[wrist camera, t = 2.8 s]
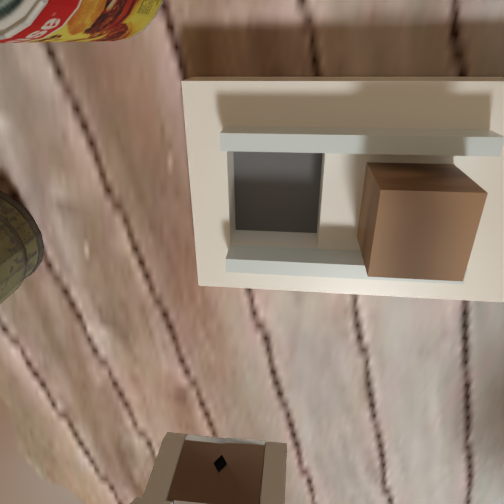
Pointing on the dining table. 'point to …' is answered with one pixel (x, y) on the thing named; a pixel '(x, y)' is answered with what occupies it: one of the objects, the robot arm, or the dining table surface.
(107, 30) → the canned food
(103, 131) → the dining table surface
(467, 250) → the walnut block
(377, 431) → the dining table surface
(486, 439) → the dining table surface
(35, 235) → the thermos
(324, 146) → the channel
